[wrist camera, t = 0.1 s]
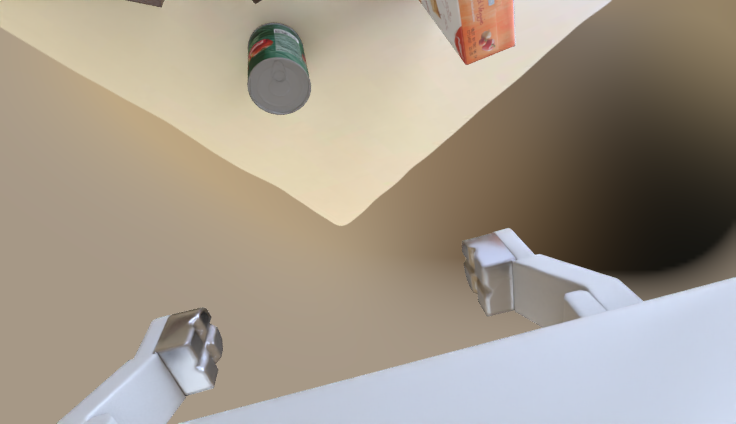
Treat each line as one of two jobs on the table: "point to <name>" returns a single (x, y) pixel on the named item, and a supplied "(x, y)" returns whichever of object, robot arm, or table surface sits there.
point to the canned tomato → (277, 69)
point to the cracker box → (474, 25)
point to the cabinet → (150, 2)
